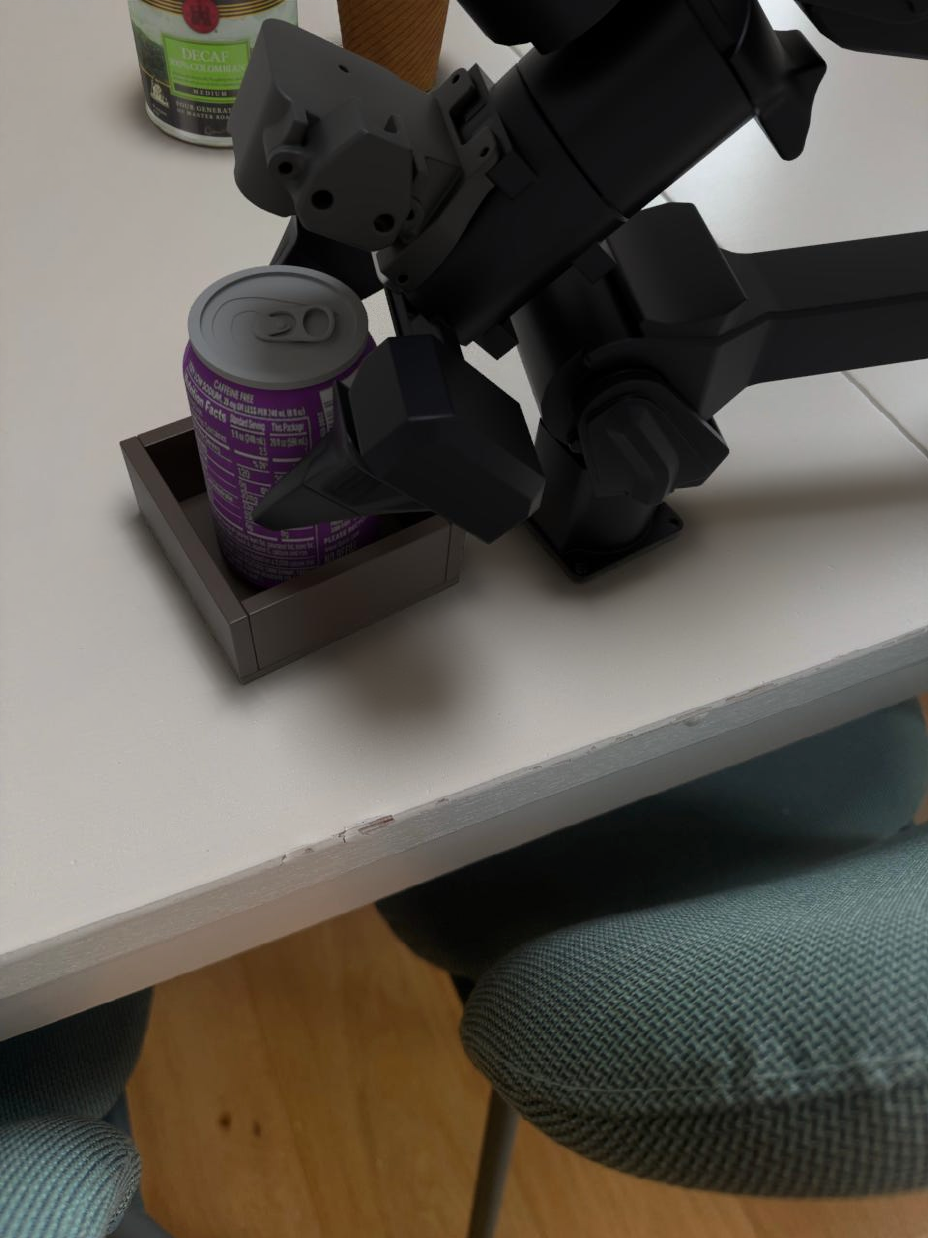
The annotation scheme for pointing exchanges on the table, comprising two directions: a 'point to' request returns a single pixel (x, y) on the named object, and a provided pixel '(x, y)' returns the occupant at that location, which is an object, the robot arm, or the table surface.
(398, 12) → the disposable coffee cup
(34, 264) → the table surface
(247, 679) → the open box
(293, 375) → the beverage can
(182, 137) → the coffee can
